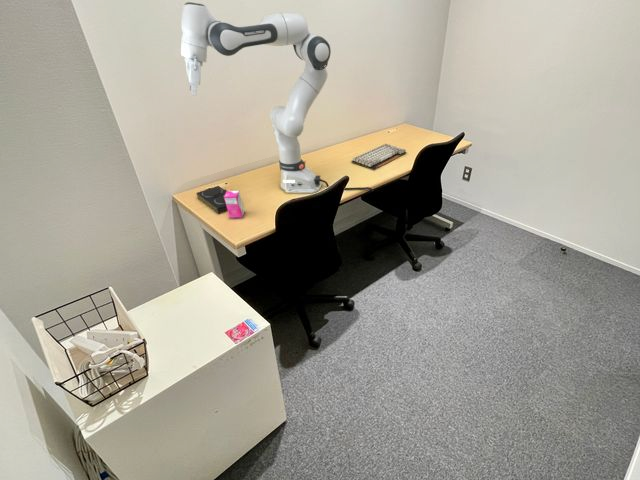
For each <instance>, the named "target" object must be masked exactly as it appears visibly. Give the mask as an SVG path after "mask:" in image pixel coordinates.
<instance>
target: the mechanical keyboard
mask: <svg viewBox="0 0 640 480" xmlns="http://www.w3.org/2000/svg"><path fill="white" fill-rule="evenodd" d="M405 154H407V150H406V148H403V147H402V148H400V147H399V146H398V147H397V146H395V145H391V144H389V143H384V144H382V145H379V146H378V147H374V148H372V149H370V150H368V151H366V152H363V153H361V154H359V155H356V156H355V157H352V160H351V163H352V164H355V165H358V166H361V167H364V168H366V169H369V170H372V171H376V170H377V169H379V168H381V167H383V166H384V165H386V164H388V163H390V162H392V161H393V160H396V159H397V158H399V157H401V156H403V155H405Z"/></svg>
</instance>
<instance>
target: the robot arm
mask: <svg viewBox="0 0 640 480" xmlns="http://www.w3.org/2000/svg"><path fill="white" fill-rule="evenodd" d="M181 9H182V10H181V20H180V27H181V28H180V29H181V34H182V35H181V39H180V56H182V57H184V62H185V71H186V76H187V79H188V82H189V83H188V84H189V91H190V94H191V96H194V97H195V96H197V91H198V86H200V85H201V70H202V67H204V65H203V64H204V63H207V59H208V58H207V55H208V54H207V53H208V47H211V48H212V49H213V50H215V51H217V53H219V54H221V55H223V56H226V57H231V56H234V55H236V54H237V53H238V52H240V51H241V50H242V49H245V48H250V47H256V46H261V45H266V46H271V47H285V46H291V45H292V46H293V50H294V53H295V55H296V56H297V57H298V59H300V60H301V61H304V62H305V66H304V69H303V71H302V73H301V74H300V76H299V77H298V79H297V81H296V82H295V83H294V85H293V86H292V87H291V90H290V91H289V97H288V100H287V103H286V106H285V105H275V106H273V107H272V108H271V110H270V111H269V119H270V122H271V125H272V129H273V133H274V137H275V141H276V145H277V150H278V158H279V160H278V162H279V164H278V165H279V170H280V184H279V185H280V186H279V187H280V189H282V190H284V192H285V193H286V194H315V193H317V192H318V191H320V189H321V188H322V183H324V184H325V185H326V187H327V188H328V186H330V185H329V183H328V182H327V181H326V180H324V179H321V175H317V174H316V173H315V172H314V171H312V170H311V169H310V168H308V167H307V166H306V163H307V162H306V160H303V159H302V154H301V153H302V152H301V144H300V142H299V139H298V137H300V136H301V135H302V133H303V131H304V127H305V126H304V125H305V120H306V118H307V115H308V113H309V110H310V109H311V106H312V105H313V104H314V102H315V100H316V99H317V98H318V96H319V95H320V93H321V91H322V90H323V88H324V86H325V84H326V81H327V79H328V76H329V75H328V70H327V67H328V63H329V61H330V58H331V52H332V51H331V45H330V44H329V41H328V40H326V38H324V37H322V36H321V35H317V34H314V33H311V32H310V31H309V26H308V22H307V20H306V18H305V17H304V16H303V15H302V14H301V13H296V12H276V13H271V14H268V15H265V16H263V18H261V22H259V23H258V24H254V25H246V26H245V25H244V26H235V25H232V24H230V23H229V22H228V23H227V22H222V21H221V20H220V19H219V18H217V17H216V16H215V15H214V14H213V13H212V12H211V11H210V10H209V9H208V7H207V5H205V4H203V3H196V2H192V1H191V2H190V1H188V2H185V3H184V4H183V6H182V8H181ZM344 188H345V191H347V190H349V191H350V190H369V191H371V192H374V189H373V188H372V187H369V186H364V187H344Z"/></svg>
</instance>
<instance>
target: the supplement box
mask: <svg viewBox="0 0 640 480" xmlns="http://www.w3.org/2000/svg"><path fill="white" fill-rule="evenodd" d="M226 191H227V192H226V194H225V195H224V200H225V203H226V206H227V210H228V211H227V213H228V217H229V219H243V218H244V215H245V214H246V213H245V212H246V211H245V209H244V205H243V201H242V196H241V193H240V190H226Z"/></svg>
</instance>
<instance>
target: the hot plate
mask: <svg viewBox="0 0 640 480" xmlns="http://www.w3.org/2000/svg"><path fill="white" fill-rule="evenodd" d="M227 191H228V190H227V189H226V188H225V189H224V188H223V187H221V186H219V185H216V186H213V187H208V188H205V189H204V190H201V191H198V192H195V193H196V197H197V199H198V200H200V202H202V203H204V205H206V206H207V207H209V208H210V209H211V210H213V211H214V212H215V213H217V214H218V215H219V214H223V213H226V212H228V210H227V206H226V203H225V200H224V195H225V194H226V192H227Z"/></svg>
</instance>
